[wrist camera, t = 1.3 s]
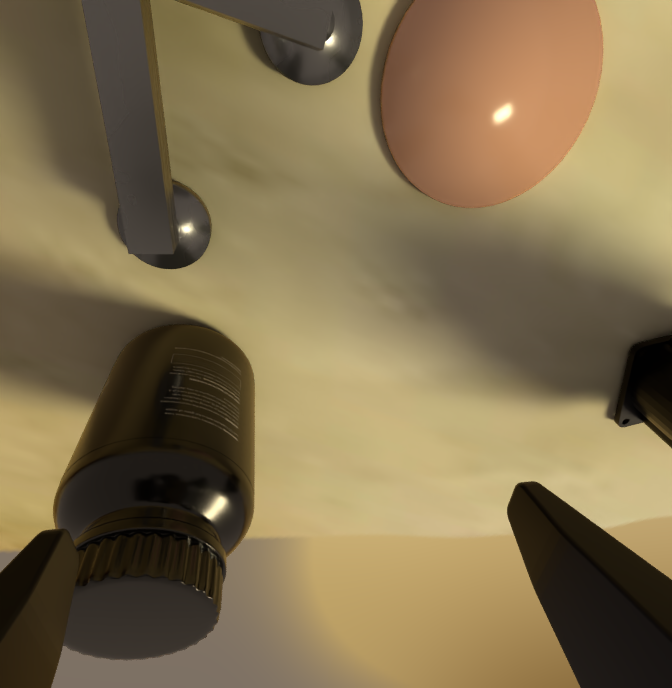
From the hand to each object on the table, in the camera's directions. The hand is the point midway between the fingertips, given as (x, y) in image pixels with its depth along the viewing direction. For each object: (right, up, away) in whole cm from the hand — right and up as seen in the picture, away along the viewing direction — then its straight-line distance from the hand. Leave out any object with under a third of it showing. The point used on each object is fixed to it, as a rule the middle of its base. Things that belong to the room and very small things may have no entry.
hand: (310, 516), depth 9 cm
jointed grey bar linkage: (-4, +12, +8) cm, 15 cm away
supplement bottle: (-7, +2, +14) cm, 16 cm away
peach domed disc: (+7, +14, +9) cm, 18 cm away
